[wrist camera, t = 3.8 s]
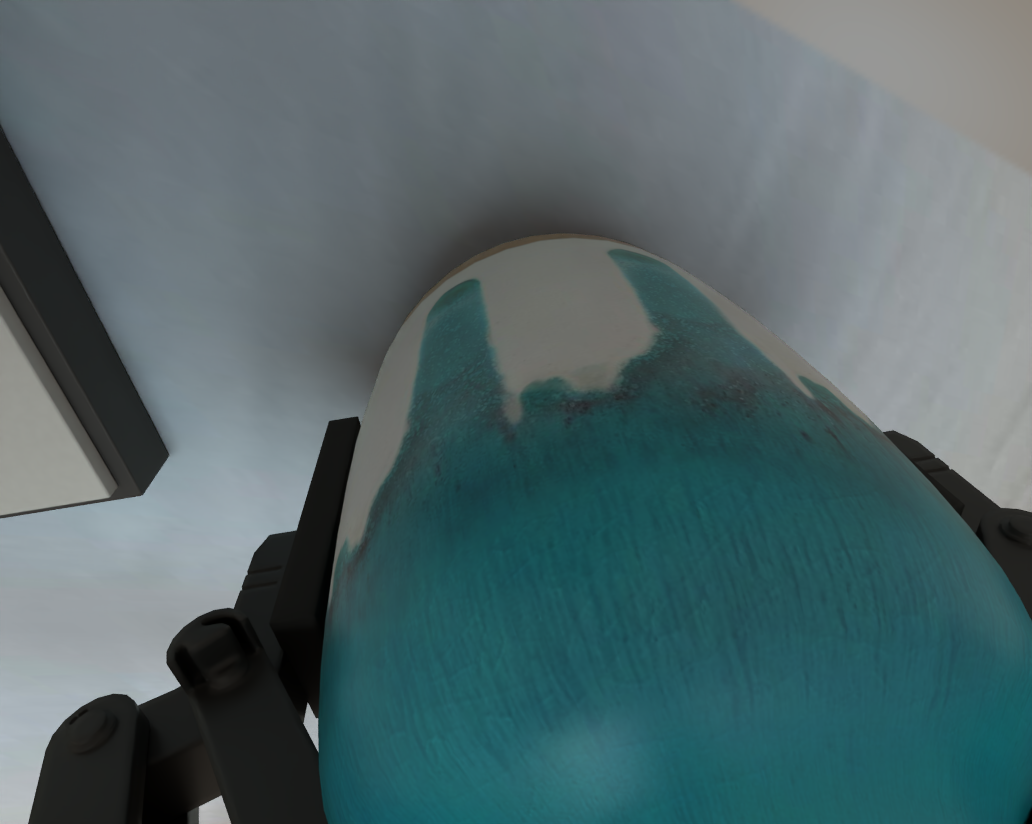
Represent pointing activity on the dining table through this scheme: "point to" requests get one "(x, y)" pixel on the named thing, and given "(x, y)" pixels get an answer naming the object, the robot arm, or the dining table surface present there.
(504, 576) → the vase
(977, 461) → the dining table surface
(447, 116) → the dining table surface
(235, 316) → the dining table surface
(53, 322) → the scale
